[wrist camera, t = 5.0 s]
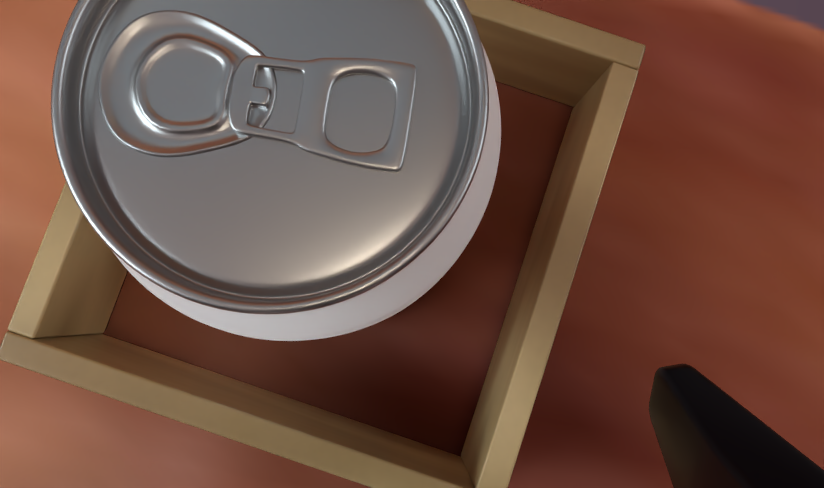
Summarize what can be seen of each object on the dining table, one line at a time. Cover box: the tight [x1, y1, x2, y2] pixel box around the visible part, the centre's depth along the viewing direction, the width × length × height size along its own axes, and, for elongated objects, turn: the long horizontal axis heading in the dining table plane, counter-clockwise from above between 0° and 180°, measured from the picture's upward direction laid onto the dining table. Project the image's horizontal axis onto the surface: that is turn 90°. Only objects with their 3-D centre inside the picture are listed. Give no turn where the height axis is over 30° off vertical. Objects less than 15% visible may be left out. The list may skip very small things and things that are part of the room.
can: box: [51, 0, 501, 341], centre depth 15 cm, size 6×6×12 cm
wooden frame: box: [0, 0, 645, 488], centre depth 19 cm, size 12×12×4 cm
